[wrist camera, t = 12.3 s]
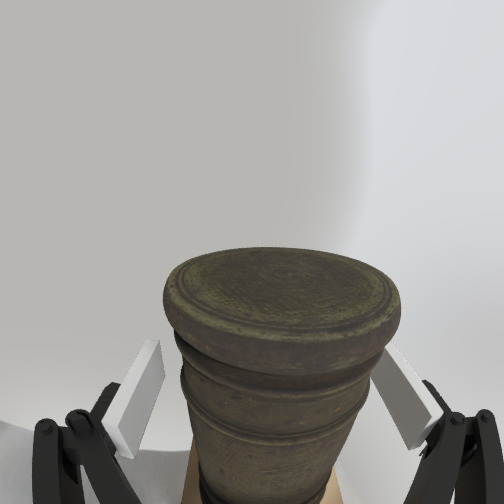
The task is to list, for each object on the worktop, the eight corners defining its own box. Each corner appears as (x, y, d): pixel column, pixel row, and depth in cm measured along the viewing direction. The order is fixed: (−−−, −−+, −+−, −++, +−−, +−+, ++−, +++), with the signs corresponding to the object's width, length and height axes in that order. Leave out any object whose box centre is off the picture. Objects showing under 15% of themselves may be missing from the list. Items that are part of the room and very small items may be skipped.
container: (341, 483, 14) (429, 271, 10) (264, 557, 8) (340, 409, 3) (258, 434, 20) (270, 235, 16) (177, 486, 14) (114, 266, 9)
